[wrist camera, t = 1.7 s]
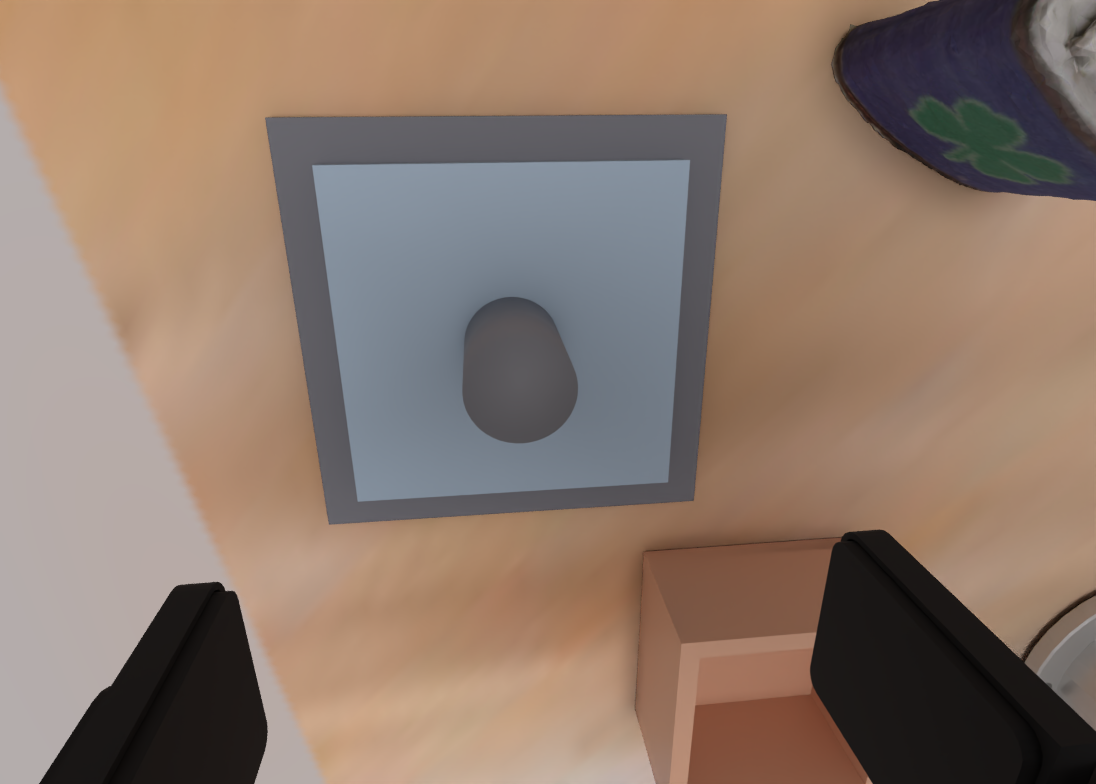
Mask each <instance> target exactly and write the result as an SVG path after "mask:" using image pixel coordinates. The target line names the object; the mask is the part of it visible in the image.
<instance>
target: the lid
mask: <svg viewBox="0 0 1096 784" xmlns="http://www.w3.org/2000/svg"><path fill="white" fill-rule="evenodd" d="M312 168H313V175H314V183H315V190H316V197H317V205H318V212H319V220H320V227H321V234H322V242H323V249H324V256H325V264H326V271H327V279H328V286H329V293H330V301H331V308H332V315H333V323H334V330H335V338H336V345H337V352H338V360H339V367H340V374H341V382H342V389H343V397H344V404H345V411H346V419H347V426H348V433H349V441H350V448H351V456H352V463H353V470H354V478H355V485H356V492H357V500H358V502H360V501H376V500H393V499H409V498H425V497H441V496H457V495H473V494H489V493H505V492H521V491H537V490H553V489H569V488H586V487H602V486H618V485H634V484H650V483H666V482H668V476H669V462H670V447H671V432H672V418H673V403H674V388H675V374H676V359H677V344H678V330H679V315H680V300H681V286H682V271H683V256H684V242H685V227H686V212H687V198H688V183H689V169H690V160H684V159H674V160H601V161H527V162H453V163H379V164H317V165H312Z"/></svg>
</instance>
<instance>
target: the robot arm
mask: <svg viewBox="0 0 1096 784" xmlns="http://www.w3.org/2000/svg"><path fill="white" fill-rule="evenodd" d="M810 677H811V681H812V685H813V687H814V690H815V691H816V693H817V695H818V697H819V698H820V700H821V701H822V703H823V705H824V706H825V708H826V709H827V711H828V713H829V714H830V716H831V717H832V719H833V721H834V722H835V724H836V726H837V727H838V729H839V730H840V732H841V734H842V735H843V737H844V738H845V740H846V742H847V743H848V745H849V746H850V748H851V750H852V751H853V753H854V754H855V756H856V758H857V759H858V761H859V762H860V764H861V766H862V767H863V769H864V771H865V772H866V774H867V775H868V777H869V779H870V780H871V782H872V783H873V784H1096V595H1095V596H1093V597H1092V598H1090V599H1088V600H1086V601H1084V602H1083V603H1081V604H1080V605H1078V606H1077V607H1075V608H1074V609H1073V610H1071V611H1070V612H1068V613H1067V614H1066V615H1064V616H1063V617H1062V618H1061V619H1060V620H1059V621H1058V622H1056V623H1055V624H1054V625H1053V626H1052V627H1051V628H1050V629H1049V630H1048V631H1047V632H1046V633H1045V634H1044V635H1043V637H1042V638H1041V639H1040V640H1039V641H1038V643H1037V644H1036V645H1035V646H1034V647H1033V649H1032V651H1031V652H1030V654H1029V656H1028V657H1027V659H1026V660H1025V662H1023V661H1022V660H1021V659H1020V658H1019V657H1018V656H1017V655H1016V654H1015V653H1013V652H1012V651H1011V650H1010V649H1009V648H1008V647H1007V646H1006V645H1005V644H1004V643H1003V642H1002V641H1001V640H1000V639H999V638H998V637H997V636H996V635H995V634H994V633H993V632H991V631H990V630H989V629H988V628H987V627H986V626H985V625H984V624H983V623H982V622H981V621H980V620H979V619H978V618H977V617H976V616H975V615H974V614H973V613H972V612H971V611H969V610H968V609H967V608H966V607H965V606H964V605H963V604H962V603H961V602H960V601H959V600H958V599H957V598H956V597H955V596H954V595H953V594H952V593H951V592H950V591H949V590H947V589H946V588H945V587H944V586H943V585H942V584H941V583H940V582H939V581H938V580H937V579H936V578H935V577H934V576H933V575H932V574H931V573H930V572H929V571H928V570H927V569H925V568H924V567H923V566H922V565H921V564H920V563H919V562H918V561H917V560H916V559H915V558H914V557H913V556H912V555H911V554H910V553H909V552H908V551H907V550H906V549H905V548H903V547H902V546H901V545H900V544H899V543H898V542H897V541H896V540H895V539H894V538H893V537H892V536H891V535H890V534H889V533H887V532H886V531H884V530H869V531H857V532H848V533H845V534H844V536H843V537H842V539H841V542H837V543H835V545H834V546H833V549H832V552H831V558H830V563H829V568H828V574H827V579H826V584H825V590H824V595H823V600H822V606H821V611H820V616H819V622H818V627H817V632H816V638H815V643H814V648H813V654H812V659H811V664H810ZM267 733H268V731H267V720H266V716H265V712H264V708H263V703H262V699H261V695H260V690H259V687H258V682H257V678H256V673H255V669H254V665H253V660H252V656H251V652H250V648H249V643H248V639H247V635H246V630H245V626H244V622H243V618H242V613H241V609H240V605H239V600H238V597H237V594H236V593H235V592H234V591H225V589H224V586H223V585H222V584H221V583H219V582H211V583H199V584H186V585H178V586H176V587H175V588H174V589H173V590H172V591H171V593H170V594H169V596H168V598H167V599H166V601H165V602H164V604H163V605H162V607H161V609H160V610H159V612H158V613H157V615H156V616H155V618H154V619H153V621H152V623H151V624H150V626H149V628H148V629H147V631H146V632H145V634H144V635H143V637H142V638H141V640H140V642H139V643H138V645H137V647H136V648H135V649H134V651H133V652H132V654H131V656H130V657H129V659H128V660H127V662H126V663H125V665H124V667H123V668H122V670H121V671H120V673H119V674H118V676H117V678H116V679H115V681H114V683H113V684H112V686H109V687H108V688H106V689H104V690H103V691H101V692H100V693H99V695H98V696H97V697H96V698H95V699H94V701H93V702H92V703H91V705H90V707H89V708H88V710H87V711H86V713H85V714H84V716H83V717H82V719H81V720H80V722H79V723H78V725H77V726H76V728H75V729H74V731H73V732H72V734H71V736H70V737H69V739H68V740H67V742H66V743H65V745H64V747H63V748H62V750H61V751H60V753H59V754H58V756H57V757H56V759H55V760H54V762H53V763H52V765H51V766H50V768H49V769H48V771H47V772H46V774H45V775H44V777H43V779H42V780H41V782H40V783H39V784H254V783H255V779H256V776H257V773H258V770H259V767H260V764H261V761H262V758H263V755H264V752H265V747H266V742H267Z"/></svg>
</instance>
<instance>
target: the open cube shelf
mask: <svg viewBox="0 0 1096 784" xmlns="http://www.w3.org/2000/svg"><path fill="white" fill-rule="evenodd" d="M841 539H842V537H841V538H827V539H813V540H799V541H786V542H772V543H758V544H744V545H730V546H716V547H703V548H689V549H675V550H661V551H647V552H644V558H643V577H642V595H641V613H640V631H639V649H638V668H637V686H636V704H635V711H636V714H637V718H638V721H639V725H640V729H641V732H642V736H643V739H644V743H645V746H646V750H647V753H648V757H649V761H650V764H651V768H652V771H653V775H654V778H655V782H656V784H873V783H872V782H871V780H870V779H869V777H868V775H867V774H866V772H865V771H864V769H863V767H862V766H861V764H860V762H859V761H858V759H857V758H856V756H855V754H854V753H853V751H852V750H851V748H850V746H849V745H848V743H847V742H846V740H845V738H844V737H843V735H842V734H841V732H840V730H839V729H838V727H837V726H836V724H835V722H834V721H833V719H832V717H831V716H830V714H829V713H828V711H827V709H826V708H825V706H824V705H823V703H822V701H821V700H820V698H819V697H818V695H817V693H816V691H815V690H814V687H813V685H812V681H811V677H810V664H811V659H812V654H813V648H814V643H815V638H816V632H817V627H818V622H819V616H820V611H821V606H822V600H823V595H824V590H825V584H826V579H827V574H828V568H829V563H830V558H831V552H832V549H833V546H834V545H835V543H837V542H841Z"/></svg>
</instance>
